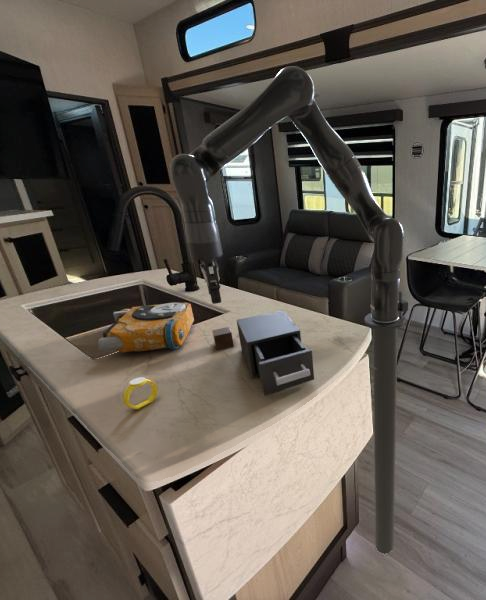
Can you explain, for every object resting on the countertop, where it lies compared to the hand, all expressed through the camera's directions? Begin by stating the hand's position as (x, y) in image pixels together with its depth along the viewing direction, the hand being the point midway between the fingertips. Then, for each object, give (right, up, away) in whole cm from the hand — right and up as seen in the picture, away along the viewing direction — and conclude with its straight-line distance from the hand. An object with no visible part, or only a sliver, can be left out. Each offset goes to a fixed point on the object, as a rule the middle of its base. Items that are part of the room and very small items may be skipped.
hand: (215, 298), depth 87 cm
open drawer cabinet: (+23, -19, -11) cm, 32 cm away
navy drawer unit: (+16, -16, -1) cm, 23 cm away
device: (-25, -12, +10) cm, 29 cm away
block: (0, -14, +5) cm, 15 cm away
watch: (-5, -23, -20) cm, 31 cm away
